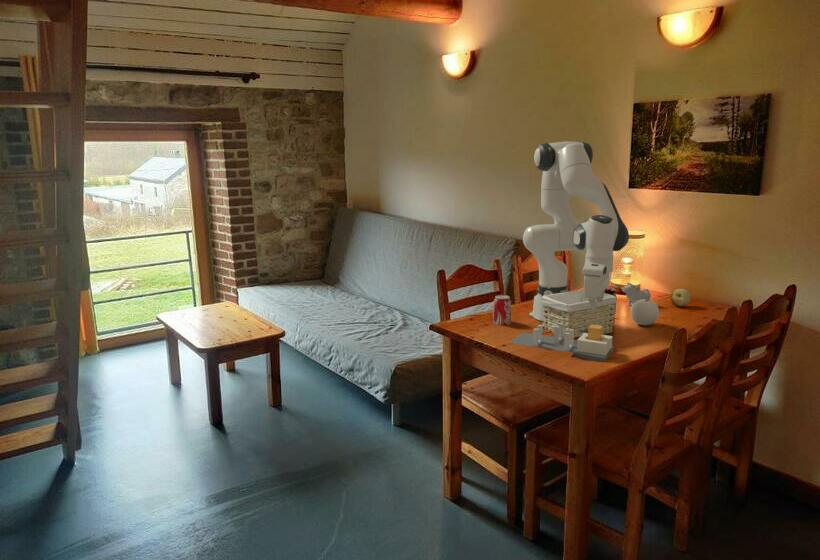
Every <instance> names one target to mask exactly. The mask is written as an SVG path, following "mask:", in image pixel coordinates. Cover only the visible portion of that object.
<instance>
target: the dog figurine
mask: <svg viewBox="0 0 820 560" xmlns="http://www.w3.org/2000/svg"><path fill="white" fill-rule="evenodd" d="M621 291H622V293H625V294H626V295H625V297H626V298H627V300H628V301H627V306H628V307H629V306H631V307H630V309H631V308H632V306H633V304H634V303H635V302H636V301H638V300H642V299H646V296H649V300H651V297H652V295H651V292H650V290H649V289H648V288H643V289H641V287H640V286H639V285H636V286H635V285H634V284H632V283H630V282H626V285H624V286H622V287H621Z"/></svg>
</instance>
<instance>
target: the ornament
mask: <svg viewBox="0 0 820 560" xmlns="http://www.w3.org/2000/svg"><path fill="white" fill-rule="evenodd" d="M631 306H632V305H631ZM659 310H660V309H659V306H658V305H657V303H656V302H655V301H653V300H651V299H650V300H649V296H646V299H642V300H638V301H636V302H635V303H634V304H633V306H632V308H631V307H630V316H631V318H632V320H633V322H634V323H636V324H637V325H639V326H645V327H646V326H651V325H653V324H655V323H656V322H657V320H658V319H659V315H660V311H659Z"/></svg>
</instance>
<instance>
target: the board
mask: <svg viewBox="0 0 820 560" xmlns="http://www.w3.org/2000/svg"><path fill="white" fill-rule="evenodd" d="M532 330H533V331H532V332H533V333H528V332H521V334H519V335H518V336H516V337H515V338H514V339H513V340H511V341H510V342H509V344H514V345H520V346H526V347H532V348H537V349H538V348H539V349H545V350H552V351H559V352H564V353H565V352H566V353H571V354H572V355H571V356H570V357H571V358H577V359H584V360H589V361H595V362H603V363H605V362H606V361H607V359H608V358H609V357H610V355H611V354H612V353H613V352H614V350H615V345H614V344H613V336H612V335H607V334H603V337H602V341H595V340H588V333H583V335H582V336H580V337H578V339H575V338H574V329H569V330H568V333H567V332H566V333H565V337H564V336H563V323H558V326H554V332H553V336H549V335H544V333H543V332H544V325H543V324H538V325H537V328H534V327H533V329H532Z"/></svg>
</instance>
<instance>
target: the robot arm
mask: <svg viewBox="0 0 820 560" xmlns="http://www.w3.org/2000/svg"><path fill="white" fill-rule="evenodd" d="M593 156H594V150H593V147H592V146H591V144H589V142H584V141H579V142H578V141H568V140H567V141H558V142H557V141H556V142H543V143H540V144H538V146H537V147H536V148H535V150H534V155H533V159H534V160H533V161H534V166H535V168H537V170H538V171H541V172H542V174H541V187H540V191H541V192H540V194H541V195H540V207H541V210H542V211H543V212H544V213H545V214H547V215H548V216H551V217H552V218H553V222H554V223H550V224H549V223H547V224H544V223H543V224H536V225H531V226H528V227H526V229H525V230H524V232H523V235H522V243H523V245H524V247H525V248H526V250H528V251H529V252H530V253H532V255H533V256H534V258H535V259H536V262H537V264H538V275H539V277H538V280H539V281H538V284H537V294H536V295H535V296H534V298H533V308H532V311H531V312H529V316H530V317H533V318H534V319H536V320H538V321H540V322H544V314H543V312H544V311H543V305H542V296H544V295H550V294H557V293H564V292H569V287H570V286H569V285H570V284H569V283H568V266H567V265H566V264H565V263H564V262H563V261H562V260H560V259H558V258H556V256H555V252H564V251H565V252H567V251H568V252H569V251H571V252H572V251H574V250H579V251H584V252H585V251H586V253H585V260H584V266H583V267H582V274H583V275H584V277H583V290H584V295H585V297H586V298H589V302H590V309H595V308H596V300H597V302H600V303H601V302H602V301H603V296H604V293H606V291H605V290H606V289H607V288H608V287H609V286H610V278H611V277H610V276H611V275H610V273H612V272H613V269H614V268H613V266H614V252H619V251H621V250H623V249H624V247H626V246H627V245H628V243H629V239H630V234H629V230H628V227H627V226H626V224H625V223H624V221H623V219H622V218H621V215H620V213H619V210H618V208H617V206H616V204H615V202H614V200H613V198H612V195H611V193H610V191H609V189H608V187H607V185H606V184H605V183H603V182H601V180H599V178H598V177H596V175H595V172H594V171H593V168H592V162H593V158H594V157H593ZM570 195H571V196H573V197H574V198H575V197H576V198H579V199H582V200H586V201H589V202H591V203H593V204H595V205H596V206H597V208H599V211H600V214H597V215H592V216H590V217H589V218H588V220H587V221H586V222H582V223H579V222H578V221H577V220H576V219H575V217H574V216H573V212H572V210H571V204H570V203H571V202H570V201H571V198H570Z"/></svg>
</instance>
